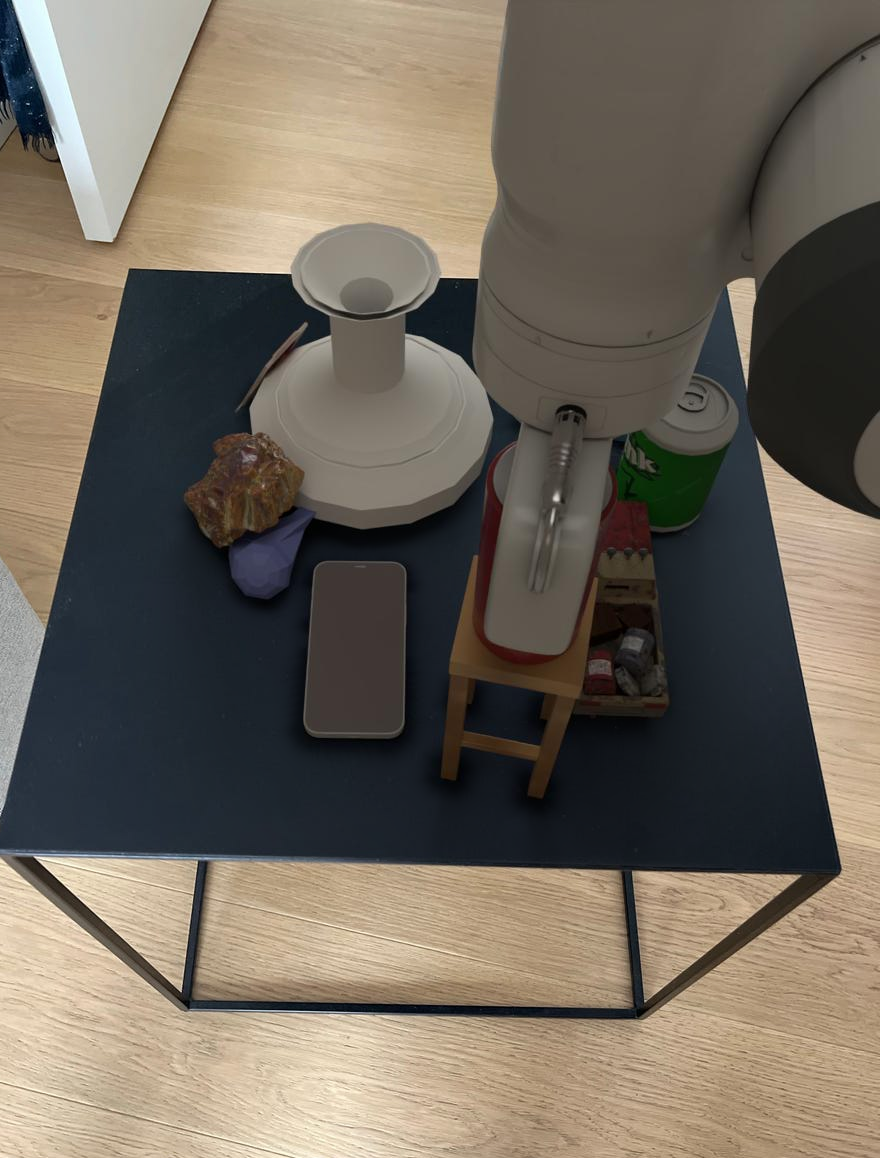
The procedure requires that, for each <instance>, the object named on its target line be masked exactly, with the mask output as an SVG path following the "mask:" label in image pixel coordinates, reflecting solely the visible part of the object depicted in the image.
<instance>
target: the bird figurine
mask: <svg viewBox="0 0 880 1158" xmlns="http://www.w3.org/2000/svg"><path fill="white" fill-rule="evenodd" d="M315 514H316V511H311V510H307V509H305V508H303V507H300V508H296V510H295V511H294V512H292V513H291V514H289V515H286V516H284V517H281V518H278V519H279V521H278V522H277V524H276V525H274V526H272V527H270V528H269V527H268V528H266V529H265V530H264V531H262V532H260V533H256V532H255V531H252V530H251V531H250V530H248V531H246V532H245V533H244V534H243V535H242V536H241V537H237V538H236V539H235V540H234V541H233V544H232V545H231V546H229V549H228V560H229V567H230V568H229V569H230V573H231V578H232V580H233V581H234V583H235V584H236V585H237V587H238V588H239V589H240V590H241V592H242V593H243V594H244V596H247V597H252V598H259V599H263V600H270V599H271V598H273V597H274V596H276V595H277V594H278V593H280V592H281V591H283V590H284V589H286V588H288V587H289V586H290V582H291V575H292V571H293V568H294V564H295V562H296V559H297V555H298V552H299V549H300V546H301V542H302V539H303V536H304V534H305V533H304V532H305V530H306V528H307V527H308V525H309V524H310V522H311V521H312V519H314V515H315Z"/></svg>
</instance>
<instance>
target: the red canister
mask: <svg viewBox="0 0 880 1158" xmlns="http://www.w3.org/2000/svg"><path fill="white" fill-rule="evenodd" d="M517 442H518V440H517V441H516V440H515V441H514V442H511V443H510V444H509V445H507V446H505V447H504V448H503V449H502V450H500V451H499V453H498V454H497V455H495V457H494V458H493V460H492V461H491V464H490V466H489V467H488V470H487V473H486V480H485V490H484V500H483V509H482V518H481V526H480V527H481V528H480V535H479V546H478V555H477V556H478V564H477V574H476V583H475V593H474V602H473V612H472V620H473V626H474V629H475V632H476V634H477V636H478V638H479V639H480V641H481V642H482V643H483V644H484V646H485V647H486V648H487V649H489V650H490V651H491V652H492V653H494V654H495V655H497V656H498V657H500V658H502V659H504V660H507V661H510V662H513V663H517V664H524V665H533V664H541V663H546V662H549V661H551V660H554V659H556V658H558V657H559V656H561V655H562V654H564V653H565V652H566V651H567V650H568V649H569V648H570V647H571V646H572V645H573V643H574V642H575V640H576V638H577V636H578V633H579V630H580V626H581V623H582V619H583V616H584V612H585V609H586V605H587V602H588V598H589V595H590V591H591V588H592V584H593V581H594V577H595V574H596V570H597V567H598V563H599V560H600V557H601V553H602V550H603V546H604V543H605V539H606V536H607V532H608V529H609V525H610V522H611V518H612V515H613V511H614V508H615V504H616V500H617V496H618V485H617V480H616V474H615V471H614V469H613V467H612V466H611V464H610V463H609V468H608V474H607V481H606V487H605V494H604V500H603V507H602V513H601V520H600V526H599V531H598V537H597V542H596V546H595V551H594V556H593V560H592V564H591V568H590V572H589V576H588V580H587V584H586V588H585V592H584V596H583V599H582V603H581V607H580V610H579V614H578V618H577V621H576V625H575V629H574V633H573V636H572V639H571V642H570V644H569V646H568V648H567V649H566V650H565V651H564V652H563V653H561V654H558V655H543V654H535V653H529V652H523V651H519V650H514V649H510V648H506V647H503V646H499V645H497V644H494V643H492V642H491V641H489V640H488V639H487V637H486V636H485V633H484V618H485V611H486V605H487V598H488V592H489V586H490V580H491V574H492V568H493V562H494V556H495V550H496V544H497V538H498V533H499V527H500V522H501V517H502V512H503V507H504V502H505V498H506V493H507V488H508V484H509V479H510V475H511V470H512V465H513V461H514V456H515V452H516V447H517Z"/></svg>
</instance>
